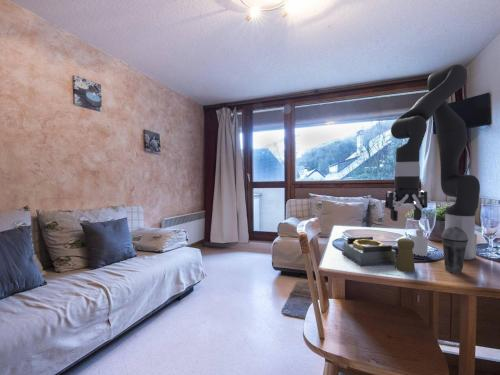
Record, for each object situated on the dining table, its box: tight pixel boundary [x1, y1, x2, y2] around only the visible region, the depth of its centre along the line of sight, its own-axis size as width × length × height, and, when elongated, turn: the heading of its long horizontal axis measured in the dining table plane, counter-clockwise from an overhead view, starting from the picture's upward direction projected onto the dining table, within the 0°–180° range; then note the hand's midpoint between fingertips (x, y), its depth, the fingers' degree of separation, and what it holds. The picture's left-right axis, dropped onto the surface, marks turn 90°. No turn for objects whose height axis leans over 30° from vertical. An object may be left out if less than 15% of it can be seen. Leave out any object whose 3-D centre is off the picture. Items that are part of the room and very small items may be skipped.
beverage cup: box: [440, 215, 468, 275], centre depth 86 cm, size 7×7×20 cm
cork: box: [395, 237, 416, 273], centre depth 89 cm, size 6×6×11 cm
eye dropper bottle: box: [410, 226, 429, 257], centre depth 103 cm, size 4×6×12 cm
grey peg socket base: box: [341, 236, 397, 267], centre depth 101 cm, size 15×15×7 cm
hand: (405, 220), depth 89 cm, fingers open, 8 cm apart
